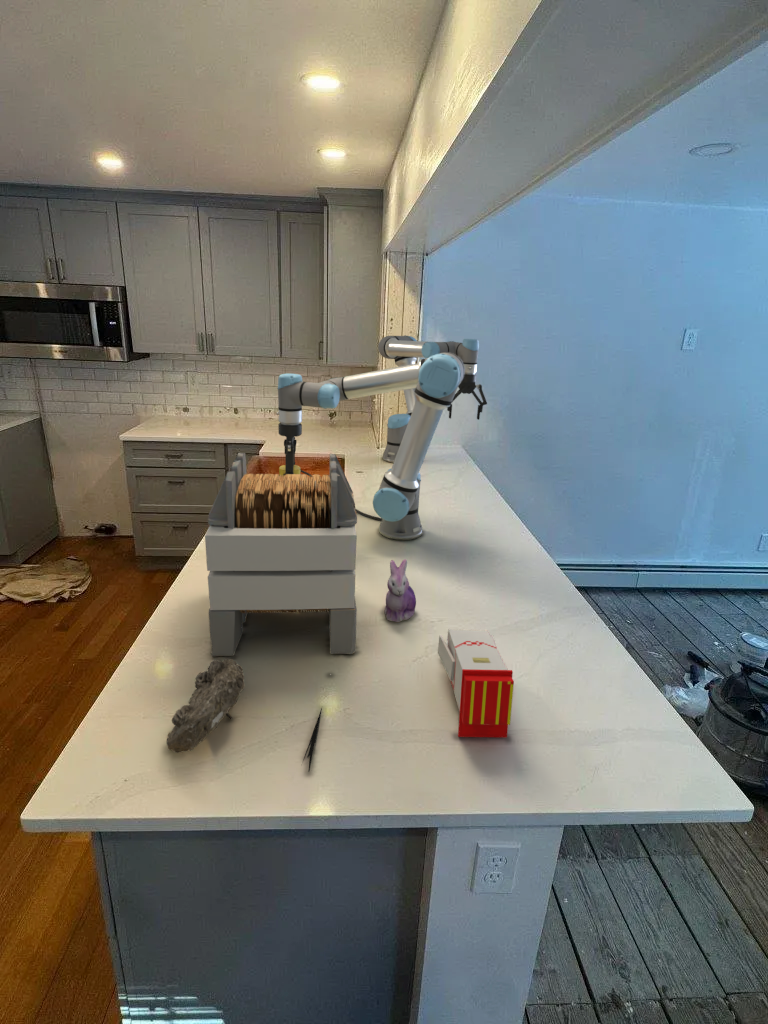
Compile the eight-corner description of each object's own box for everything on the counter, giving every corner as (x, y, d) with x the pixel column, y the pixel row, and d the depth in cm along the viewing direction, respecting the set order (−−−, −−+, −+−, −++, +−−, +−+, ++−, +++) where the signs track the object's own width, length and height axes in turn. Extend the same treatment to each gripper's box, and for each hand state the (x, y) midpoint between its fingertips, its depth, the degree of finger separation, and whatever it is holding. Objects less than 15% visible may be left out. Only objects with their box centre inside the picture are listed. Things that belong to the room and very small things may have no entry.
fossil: (192, 660, 117) (244, 628, 112) (224, 691, 120) (276, 661, 115) (142, 746, 98) (202, 712, 93) (182, 779, 101) (242, 748, 96)
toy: (488, 613, 130) (523, 677, 101) (484, 667, 133) (517, 744, 104) (435, 612, 130) (455, 676, 101) (432, 666, 133) (451, 743, 103)
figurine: (392, 627, 141) (395, 572, 136) (374, 608, 149) (376, 556, 144) (425, 619, 145) (429, 566, 140) (405, 601, 154) (408, 550, 149)
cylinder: (289, 506, 188) (289, 471, 184) (275, 501, 192) (274, 467, 188) (304, 501, 194) (304, 467, 190) (290, 496, 198) (290, 463, 194)
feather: (331, 679, 122) (336, 673, 122) (307, 777, 96) (313, 769, 95) (324, 675, 122) (329, 669, 121) (298, 772, 95) (304, 764, 95)
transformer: (231, 587, 157) (223, 443, 143) (348, 585, 161) (352, 445, 147) (208, 658, 125) (196, 482, 112) (356, 654, 129) (361, 484, 115)
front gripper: (280, 416, 193) (281, 481, 201) (276, 428, 174) (277, 499, 182) (302, 417, 194) (302, 481, 201) (300, 429, 175) (300, 499, 183)
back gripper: (442, 373, 261) (439, 418, 269) (496, 375, 262) (491, 421, 269) (440, 371, 268) (437, 416, 276) (492, 373, 269) (488, 418, 276)
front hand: (290, 490), depth 192 cm, fingers closed on cylinder, 7 cm apart
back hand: (463, 418), depth 272 cm, fingers open, 13 cm apart
